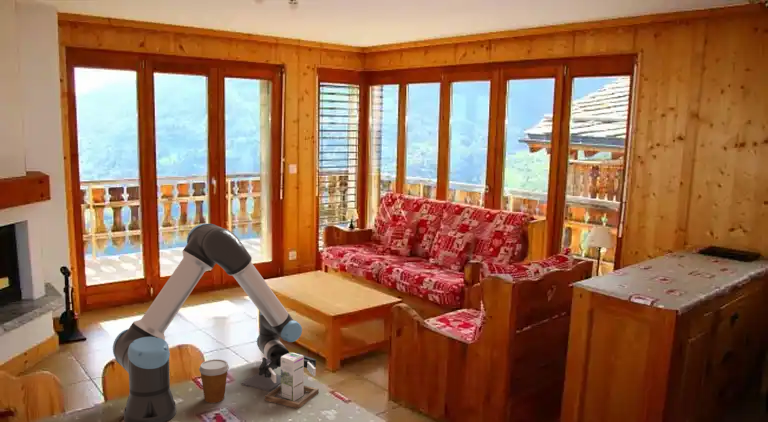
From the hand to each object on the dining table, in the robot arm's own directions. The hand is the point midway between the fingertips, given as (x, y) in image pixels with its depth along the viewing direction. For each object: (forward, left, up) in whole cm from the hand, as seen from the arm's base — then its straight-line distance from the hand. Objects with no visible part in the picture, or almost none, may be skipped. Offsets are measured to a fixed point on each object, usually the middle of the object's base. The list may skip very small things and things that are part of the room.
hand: (295, 375), depth 196 cm
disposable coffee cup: (-24, -11, -9) cm, 28 cm away
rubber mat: (-17, +8, -8) cm, 21 cm away
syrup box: (-2, +2, -9) cm, 9 cm away
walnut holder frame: (-2, +2, -8) cm, 9 cm away
